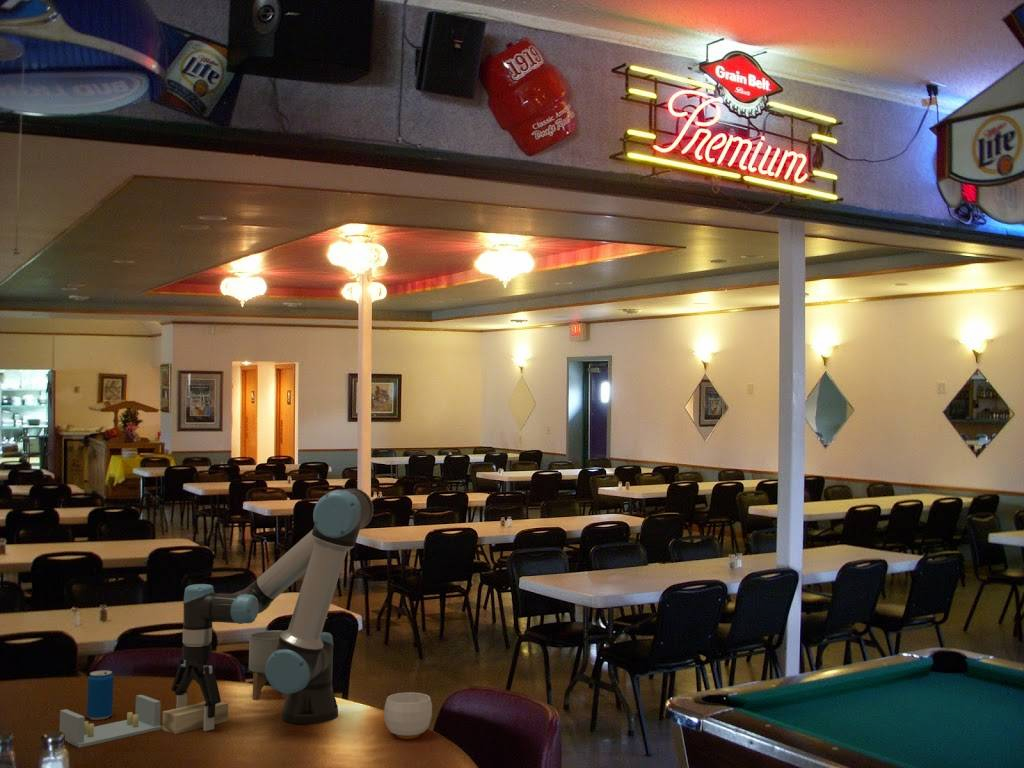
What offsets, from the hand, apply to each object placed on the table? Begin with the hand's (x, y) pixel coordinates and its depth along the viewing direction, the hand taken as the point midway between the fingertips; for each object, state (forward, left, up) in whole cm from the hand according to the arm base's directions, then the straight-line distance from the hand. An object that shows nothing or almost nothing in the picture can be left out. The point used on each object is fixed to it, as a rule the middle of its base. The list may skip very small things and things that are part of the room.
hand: (194, 724), depth 274 cm
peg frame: (+9, +19, 0) cm, 21 cm away
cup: (-47, -33, 0) cm, 58 cm away
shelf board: (0, 0, 0) cm, 1 cm away
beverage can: (+25, +14, 0) cm, 28 cm away
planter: (+12, -32, 0) cm, 34 cm away
